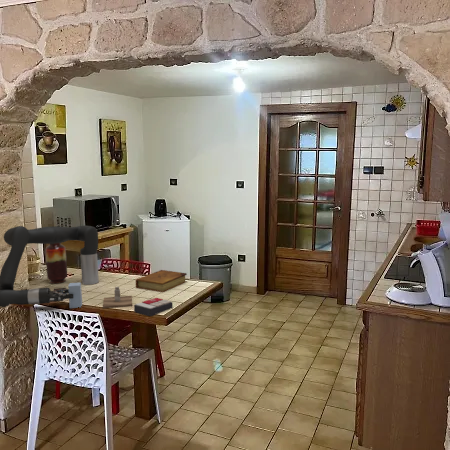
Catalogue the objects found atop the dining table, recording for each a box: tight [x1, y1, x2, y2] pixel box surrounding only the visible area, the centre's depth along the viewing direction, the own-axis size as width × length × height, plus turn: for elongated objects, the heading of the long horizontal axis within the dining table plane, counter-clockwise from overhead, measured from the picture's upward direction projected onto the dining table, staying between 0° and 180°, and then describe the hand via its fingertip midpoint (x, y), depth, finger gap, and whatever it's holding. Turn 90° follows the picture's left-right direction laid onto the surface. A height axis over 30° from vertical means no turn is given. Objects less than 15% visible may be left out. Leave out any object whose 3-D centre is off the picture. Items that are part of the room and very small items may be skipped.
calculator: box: [133, 297, 173, 317], centre depth 220 cm, size 11×4×15 cm
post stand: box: [102, 286, 133, 309], centre depth 231 cm, size 14×14×8 cm
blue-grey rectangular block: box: [67, 282, 83, 309], centre depth 226 cm, size 5×5×11 cm
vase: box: [44, 243, 68, 285], centre depth 269 cm, size 11×11×26 cm
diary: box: [135, 269, 188, 293], centre depth 262 cm, size 23×19×6 cm
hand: (74, 293), depth 226 cm, fingers open, 8 cm apart
